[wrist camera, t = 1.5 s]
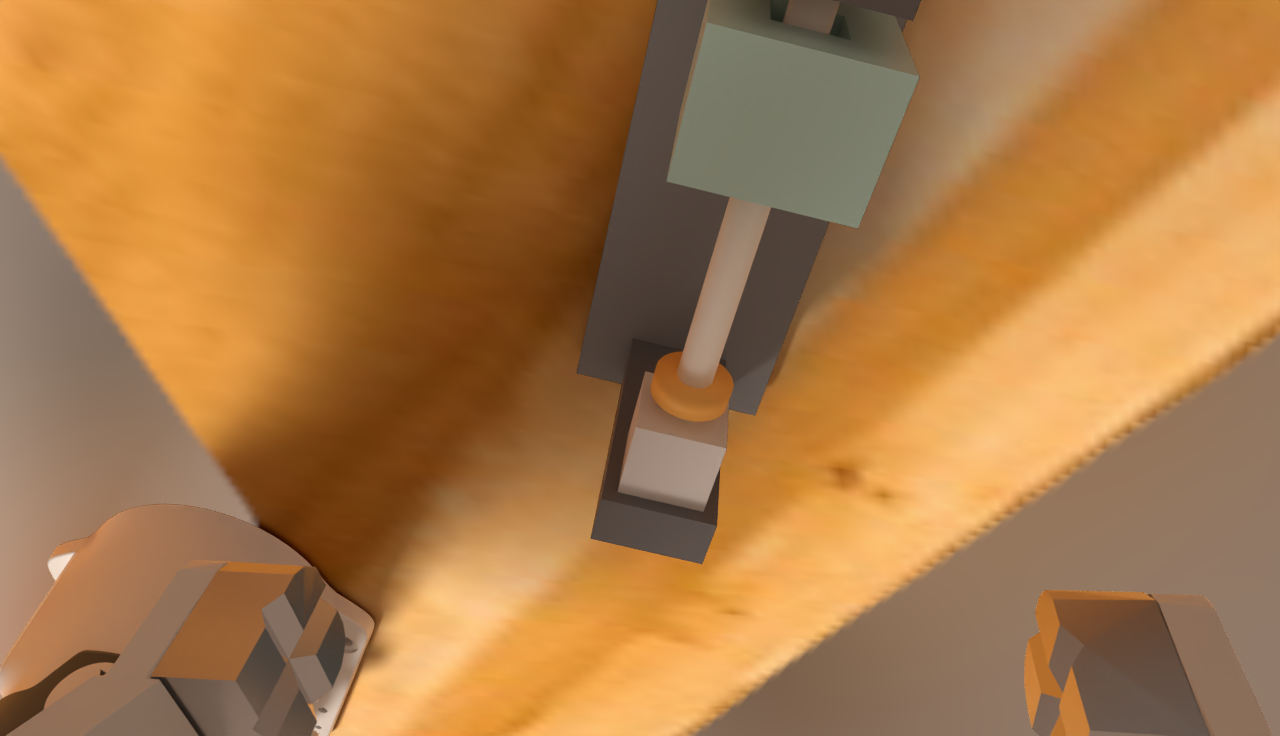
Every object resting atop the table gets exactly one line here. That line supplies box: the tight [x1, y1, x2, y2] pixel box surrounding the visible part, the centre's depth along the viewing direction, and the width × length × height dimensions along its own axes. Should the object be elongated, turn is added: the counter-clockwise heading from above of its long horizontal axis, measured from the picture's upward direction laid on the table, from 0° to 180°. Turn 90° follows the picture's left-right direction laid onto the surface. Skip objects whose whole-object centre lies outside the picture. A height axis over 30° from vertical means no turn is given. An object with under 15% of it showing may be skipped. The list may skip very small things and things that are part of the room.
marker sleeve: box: [667, 0, 920, 228], centre depth 24 cm, size 4×5×5 cm
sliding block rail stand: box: [577, 0, 921, 564], centre depth 30 cm, size 22×8×11 cm, turn 168°
